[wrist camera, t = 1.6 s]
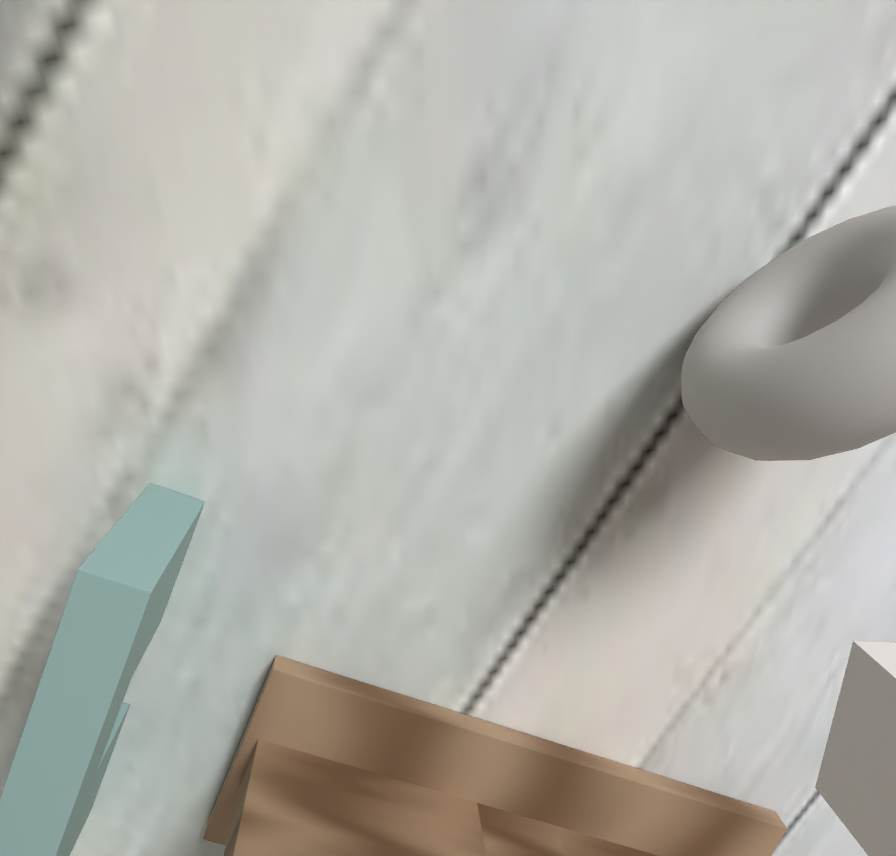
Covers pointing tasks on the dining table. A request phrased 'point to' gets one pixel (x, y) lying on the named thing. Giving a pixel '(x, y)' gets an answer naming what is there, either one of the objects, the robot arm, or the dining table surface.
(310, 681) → the jig
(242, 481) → the dining table surface
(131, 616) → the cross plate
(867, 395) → the donut
